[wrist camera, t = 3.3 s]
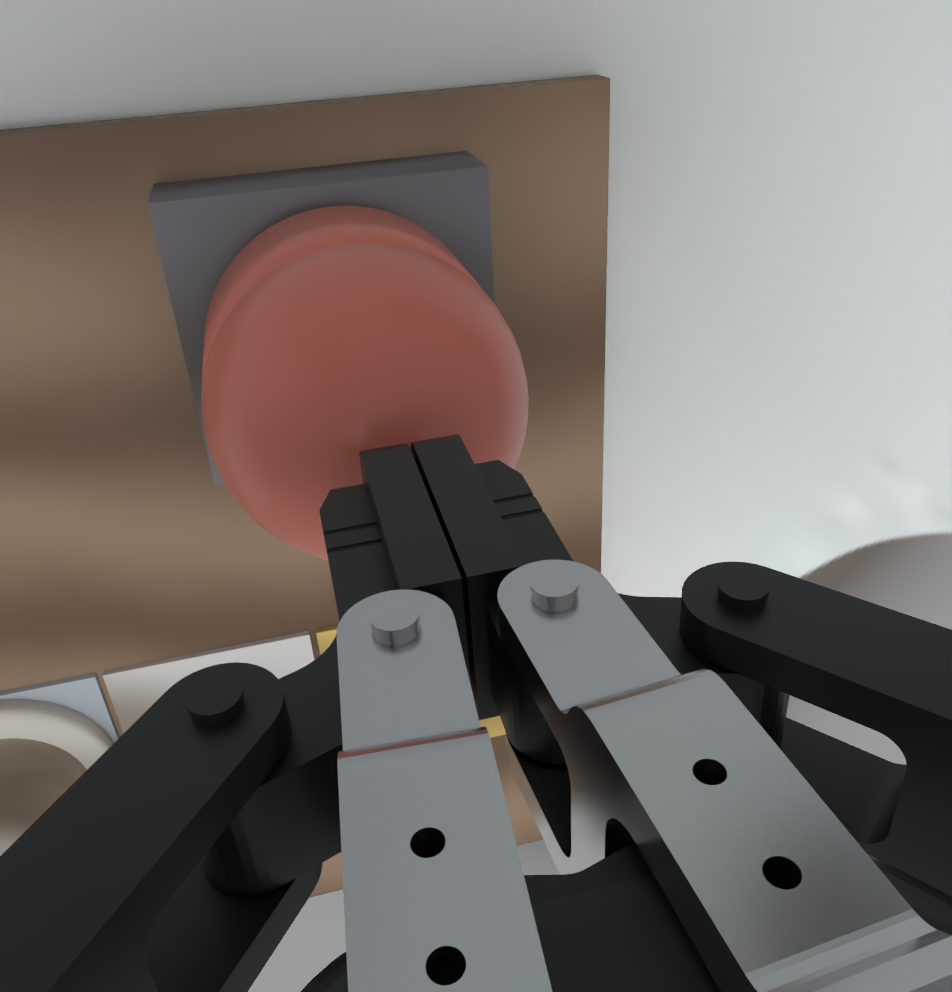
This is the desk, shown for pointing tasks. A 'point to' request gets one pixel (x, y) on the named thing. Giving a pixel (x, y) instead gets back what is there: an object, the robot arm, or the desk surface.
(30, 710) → the pawn
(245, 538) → the game board
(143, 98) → the desk surface
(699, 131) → the desk surface
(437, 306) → the dome
